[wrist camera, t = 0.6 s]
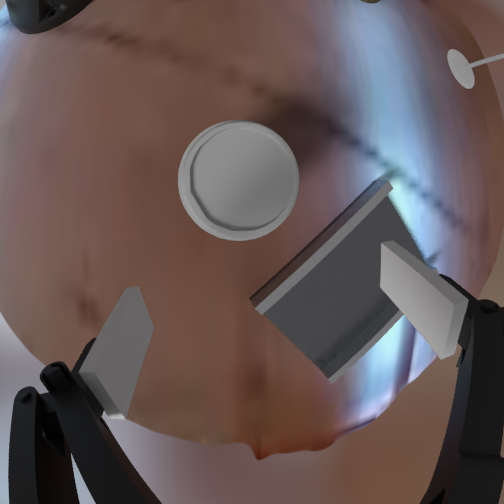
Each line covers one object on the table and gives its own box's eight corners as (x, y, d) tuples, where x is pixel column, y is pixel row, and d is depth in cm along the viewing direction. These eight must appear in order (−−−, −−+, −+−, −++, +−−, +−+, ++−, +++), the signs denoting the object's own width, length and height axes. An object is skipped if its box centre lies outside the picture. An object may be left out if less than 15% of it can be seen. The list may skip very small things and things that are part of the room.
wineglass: (473, 61, 36) (554, 39, 15) (476, 99, 37) (567, 84, 16) (444, 38, 34) (529, 4, 13) (447, 77, 36) (545, 50, 14)
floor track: (323, 371, 40) (332, 383, 37) (249, 298, 36) (254, 308, 33) (424, 268, 40) (438, 273, 37) (373, 181, 36) (388, 180, 33)
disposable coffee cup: (182, 144, 31) (176, 116, 19) (267, 143, 33) (303, 118, 21) (185, 228, 33) (179, 246, 21) (268, 225, 35) (305, 240, 23)
